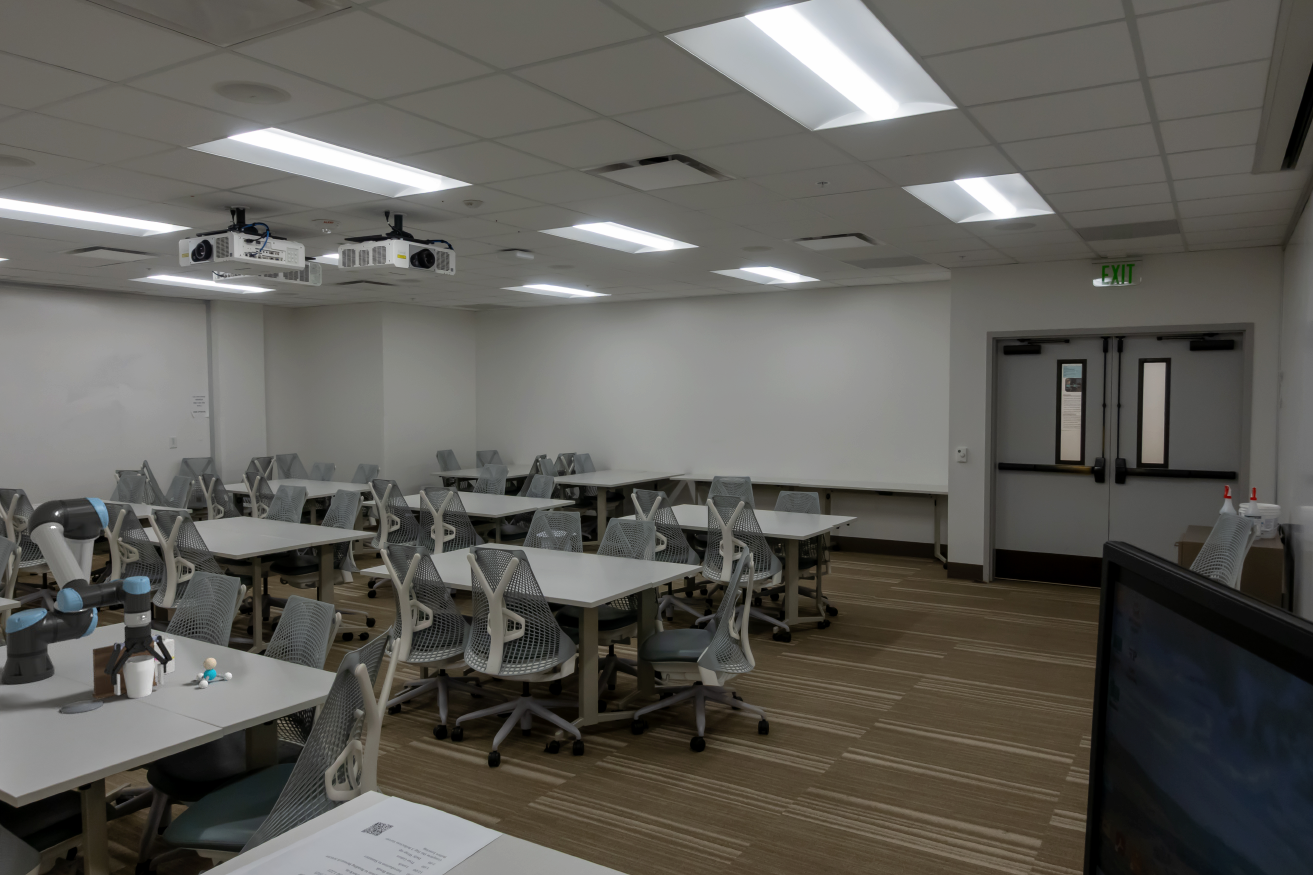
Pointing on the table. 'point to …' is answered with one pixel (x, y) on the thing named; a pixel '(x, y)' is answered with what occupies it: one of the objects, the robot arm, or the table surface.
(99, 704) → the grey smooth rounded part
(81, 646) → the table surface
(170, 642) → the ink box
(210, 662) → the molecule model
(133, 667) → the cup
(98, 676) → the brown wooden slab
